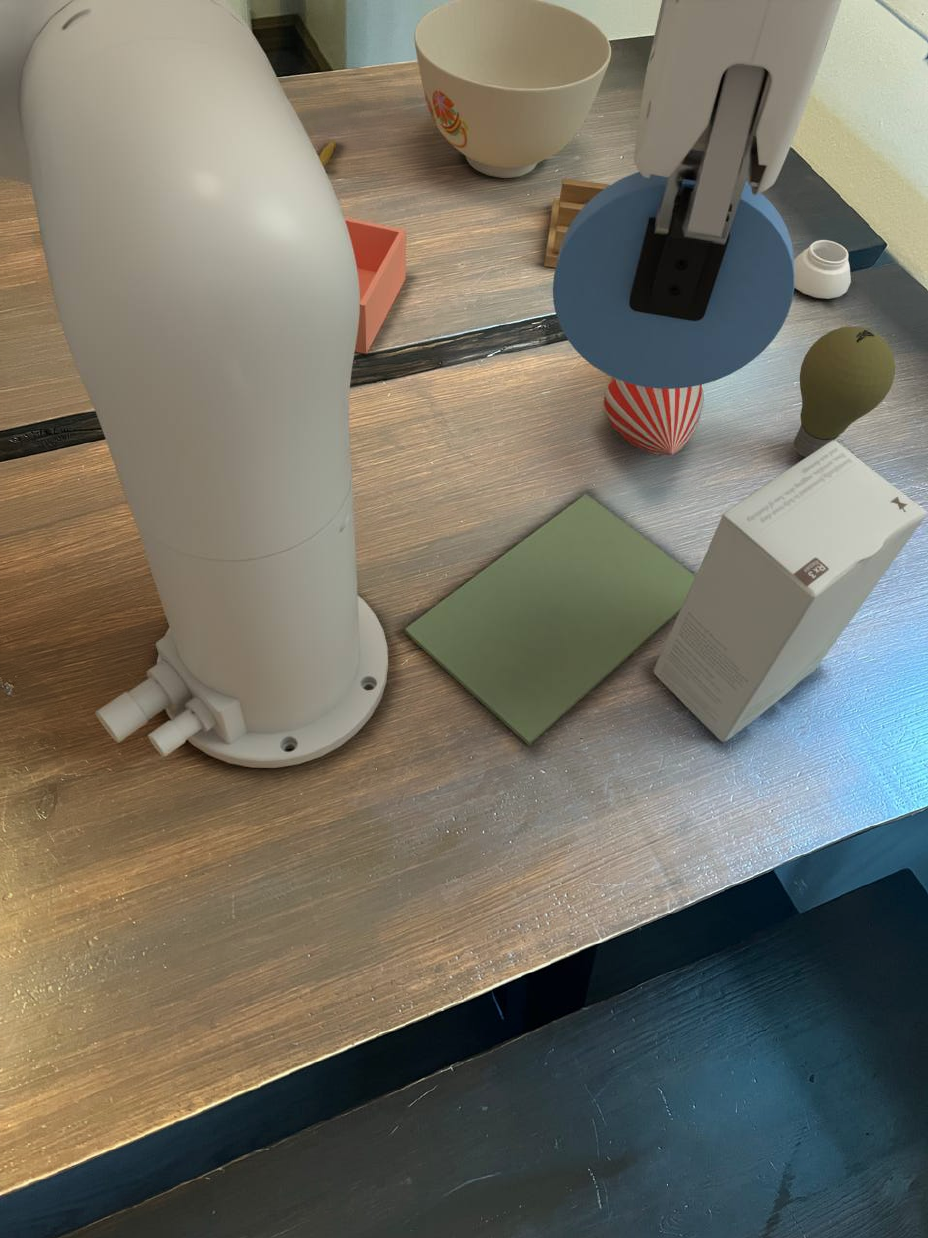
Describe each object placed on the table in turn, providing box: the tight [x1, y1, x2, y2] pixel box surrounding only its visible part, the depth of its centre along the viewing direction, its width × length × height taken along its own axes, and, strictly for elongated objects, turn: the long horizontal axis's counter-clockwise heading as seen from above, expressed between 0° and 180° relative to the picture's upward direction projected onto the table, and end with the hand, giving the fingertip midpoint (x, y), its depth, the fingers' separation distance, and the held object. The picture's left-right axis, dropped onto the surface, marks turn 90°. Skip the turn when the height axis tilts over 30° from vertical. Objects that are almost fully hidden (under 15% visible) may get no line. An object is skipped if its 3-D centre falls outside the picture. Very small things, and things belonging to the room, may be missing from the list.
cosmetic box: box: [652, 440, 928, 743], centre depth 49 cm, size 8×6×15 cm
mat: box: [404, 493, 696, 746], centre depth 57 cm, size 16×10×1 cm, turn 135°
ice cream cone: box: [603, 377, 705, 456], centre depth 67 cm, size 6×6×20 cm
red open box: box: [344, 216, 407, 355], centre depth 69 cm, size 18×10×10 cm, turn 75°
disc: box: [552, 171, 795, 389], centre depth 41 cm, size 1×10×10 cm, turn 80°
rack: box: [543, 178, 611, 269], centre depth 78 cm, size 8×11×3 cm
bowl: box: [413, 0, 612, 179], centre depth 82 cm, size 16×16×10 cm
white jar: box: [794, 239, 852, 300], centre depth 77 cm, size 5×3×5 cm
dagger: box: [318, 140, 337, 174], centre depth 82 cm, size 11×1×2 cm
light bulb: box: [793, 326, 896, 459], centre depth 63 cm, size 6×6×10 cm
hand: (667, 294), depth 41 cm, fingers closed on disc, 1 cm apart
